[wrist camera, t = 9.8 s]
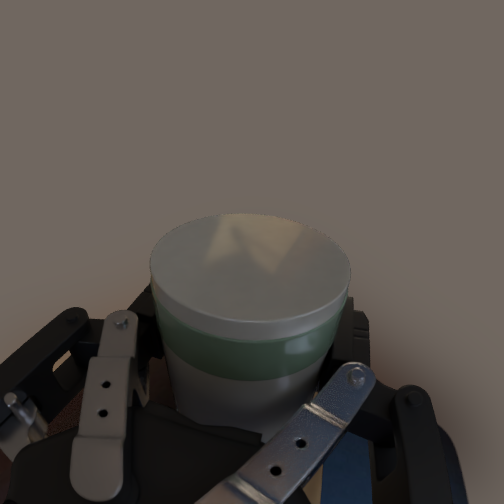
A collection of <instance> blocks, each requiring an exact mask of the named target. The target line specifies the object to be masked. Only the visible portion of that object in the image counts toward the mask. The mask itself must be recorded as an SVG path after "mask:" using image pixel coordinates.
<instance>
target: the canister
mask: <svg viewBox="0 0 504 504" xmlns="http://www.w3.org/2000/svg"><path fill="white" fill-rule="evenodd" d="M150 272H151V281H150V284H151V291H152V298H153V304H154V310H155V316H156V322H157V326H158V330H159V332H160V335H161V341H162V346H163V351H164V356H165V361H166V366H167V371H168V376H169V380H170V385H171V389H172V394H173V398H174V402H175V406H176V410H177V411H178V412H180V413H181V414H183V415H185V416H186V417H188V418H190V419H191V420H193V421H195V422H196V423H198V424H201V425H213V426H232V427H236V428H240V429H244V430H249V431H253V432H257V433H262V439H261V442H264V443H267V442H268V441H269V440H270V439H271V438H272V437H273V436H274V435H275V434H276V433H277V432H278V431H279V430H280V429H281V427H282V426H283V425H284V424H285V423H286V422H287V421H288V420H289V419H290V418H291V417H292V416H293V415H294V414H295V413H296V412H297V410H298V409H299V408H300V407H301V406H302V405H303V404H305V403H308V404H309V403H310V402H311V401H312V400H313V397H314V394H315V392H316V389H317V386H318V383H319V380H320V377H321V374H322V371H323V369H324V366H325V363H326V360H327V356H328V353H329V350H330V347H331V345H332V343H333V341H334V339H335V336H336V333H337V330H338V327H339V323H340V320H341V317H342V313H343V310H344V306H345V303H346V299H347V296H348V286H349V282H350V278H351V268H350V263H349V260H348V258H347V256H346V254H345V253H344V252H343V250H342V249H341V248H340V247H339V246H338V245H337V244H336V243H335V242H334V241H333V240H331V239H330V238H329V237H327V236H326V235H324V234H323V233H321V232H319V231H317V230H316V229H313V228H311V227H309V226H306V225H304V224H301V223H298V222H295V221H292V220H288V219H284V218H280V217H274V216H268V215H259V214H224V215H216V216H210V217H205V218H201V219H197V220H194V221H191V222H188V223H185V224H183V225H181V226H179V227H177V228H175V229H173V230H172V231H170V232H169V233H167V234H166V235H165V236H164V237H163V238H161V239H160V240H159V242H158V243H157V244H156V246H155V247H154V249H153V251H152V254H151V258H150Z"/></svg>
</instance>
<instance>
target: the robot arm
mask: <svg viewBox="0 0 504 504" xmlns="http://www.w3.org/2000/svg"><path fill="white" fill-rule="evenodd" d="M68 350H69V351H70V353H71V356H70V357H69V358H68V359H67V360H65V361H64V362H63V363H62V364H61V365H60V366H59V367H58V368H57V369H56V370H55V371H54V372H53V365H54V364H55V362H56V361H57V360H58V359H60V358H61V357H62V356H63V355H64V354H65V353H66V352H67V351H68ZM163 355H164V351H163V346H162V341H161V335H160V332H159V330H158V326H157V322H156V316H155V310H154V304H153V298H152V291H151V284H149V286H147V287H146V288H145V289H144V292H142V293H141V294H140V295H139V296H138V297H137V298H136V300H135V301H134V302H133V303H132V304H131V305H130V307H129V308H128V309H127V310H119V311H115V312H113V313H111V314H110V315H108V316H107V318H106V319H89V317H88V314H87V312H86V310H84V309H83V308H79V307H73V308H69V309H66V310H65V311H63V312H62V313H61V314H59V315H58V316H57V317H56V318H54V319H53V320H52V321H51V322H49V323H48V324H47V325H46V326H45V327H44V328H42V329H41V330H40V331H39V332H37V333H36V334H35V335H34V336H33V337H32V338H30V339H29V340H28V341H27V342H26V343H24V344H23V345H22V346H21V347H20V348H19V349H17V350H16V351H15V352H14V353H13V354H12V355H10V356H9V357H8V358H7V359H6V360H5V361H4V362H3V363H2V364H0V448H1V450H2V451H3V452H4V453H5V454H6V455H7V457H8V458H9V459H10V460H11V461H12V462H13V464H12V468H11V480H10V486H9V491H8V494H7V497H6V500H5V501H4V503H3V504H311V503H310V501H309V499H308V497H307V496H306V494H305V492H304V490H303V488H304V487H305V486H306V484H307V483H308V482H309V481H310V480H311V479H312V477H313V476H314V475H315V474H316V472H317V471H318V470H319V468H320V467H321V466H322V464H323V463H324V462H325V460H326V459H327V458H328V457H329V455H330V454H331V453H332V451H333V450H334V449H335V447H336V446H337V445H338V443H339V442H340V441H341V439H342V438H343V437H344V435H345V434H346V432H347V431H349V432H351V433H353V434H355V435H358V436H360V437H362V438H365V439H367V440H368V446H369V457H370V469H371V483H372V501H373V504H453V500H452V493H451V487H450V481H449V476H448V471H447V466H446V461H445V456H444V451H443V447H442V442H441V438H440V434H439V430H438V425H437V422H436V418H435V414H434V410H433V407H432V403H431V399H430V397H429V395H428V393H427V392H426V391H425V390H424V389H422V388H421V387H418V386H415V385H405V386H402V387H401V388H399V390H395V389H393V388H390V387H388V386H386V385H383V384H382V383H380V382H379V381H378V380H377V379H376V378H375V375H374V373H373V371H372V370H371V369H370V340H369V321H368V319H367V317H366V315H365V314H364V312H363V311H357V310H354V304H353V297H348V296H347V299H346V303H345V306H344V310H343V313H342V317H341V320H340V323H339V327H338V330H337V333H336V336H335V339H334V341H333V343H332V345H331V347H330V350H329V353H328V356H327V360H326V363H325V366H324V369H323V371H322V374H321V377H320V383H319V390H318V394H317V395H316V396H315V398H314V399H313V400H312V401H311V402H310V403H309V404H308V403H305V404H303V405H302V406H301V407H300V408H299V409H298V410H297V412H296V413H295V414H294V415H293V416H292V417H291V418H290V419H289V420H288V421H287V422H286V423H285V424H284V425H283V426H282V427H281V429H280V430H279V431H278V432H277V433H276V434H275V435H274V436H273V437H272V438H271V439H270V440H269V441H268V442H267V443H264V442H261V439H262V433H257V432H253V431H249V430H244V429H240V428H236V427H232V426H213V425H201V424H198V423H196V422H195V421H193V420H191V419H190V418H188V417H186V416H185V415H183V414H181V413H180V412H178V411H177V410H175V409H173V408H170V407H167V406H164V405H161V404H158V403H156V402H153V401H150V400H149V360H150V359H151V357H155V358H158V359H162V357H163ZM84 386H85V388H84ZM83 388H84V394H83V401H82V407H81V414H80V422H79V426H76V427H73V428H71V429H68V430H66V431H63V432H60V433H58V434H55V435H52V436H50V437H48V435H47V430H48V424H49V423H50V422H51V421H52V420H53V419H54V418H55V417H56V416H57V415H58V414H59V413H60V412H61V411H62V410H63V408H64V407H65V406H66V405H67V404H68V403H69V402H70V401H71V400H72V399H73V398H74V397H75V396H76V395H77V394H78V393H79V392H80V391H81V390H82V389H83Z"/></svg>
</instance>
